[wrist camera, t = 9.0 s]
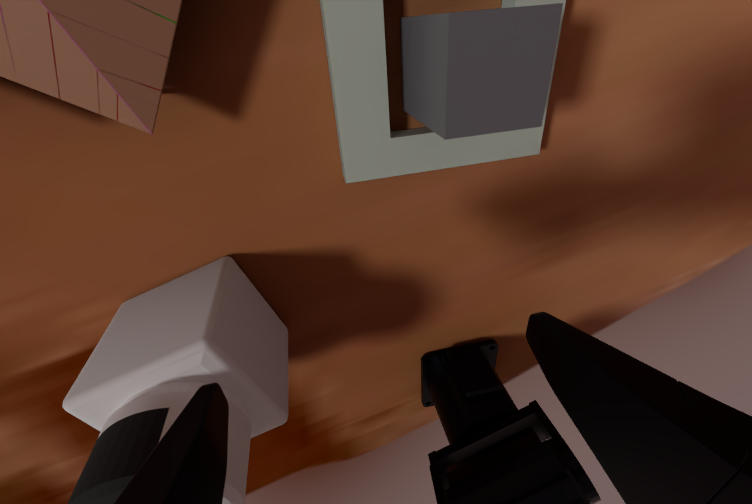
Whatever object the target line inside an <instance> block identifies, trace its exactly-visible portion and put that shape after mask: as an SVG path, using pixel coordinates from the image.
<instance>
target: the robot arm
mask: <svg viewBox="0 0 752 504" xmlns="http://www.w3.org/2000/svg"><path fill="white" fill-rule="evenodd" d="M526 339H527V341H528V344H529V346H530V348H531V349H532V351H533V353H534V355H535V357H536V359H537V361H538V363H539V365H540V367H541V369H542V371H543V373H544V375H545V377H546V379H547V381H548V383H549V384H550V386H551V388H552V390H553V391H554V393H555V394H556V396H557V398H558V399H559V401H560V402H561V404H562V405H563V407H564V408H565V410H566V412H567V413H568V415H569V416H570V418H571V419H572V421H573V422H574V424H575V426H576V427H577V428H578V430H579V432H580V433H581V435H582V436H583V438H584V439H585V441H586V443H587V444H588V446H589V447H590V449H591V450H592V452H593V453H594V455H595V456H596V458H597V460H598V461H599V463H600V464H601V466H602V467H603V469H604V471H605V472H606V474H607V475H608V477H609V478H610V480H611V481H612V483H613V485H614V486H615V488H616V489H617V491H618V492H619V494H620V495H621V497H622V498H623V500H624V502H625V503H626V504H752V416H750V415H748V414H745V413H743V412H741V411H739V410H737V409H735V408H732V407H730V406H728V405H726V404H724V403H722V402H720V401H718V400H716V399H714V398H711V397H709V396H708V395H706V394H704V393H701V392H699V391H698V390H695V389H694V388H692V387H689V386H688V385H686V384H684V383H682V382H680V381H678V382H677V380H676V379H674V378H672V377H670V376H668V375H666V374H664V373H662V372H660V371H659V370H657V369H654V368H653V367H651V366H649V365H647V364H645V363H643V362H641V361H639V360H637V359H635V358H633V357H631V356H629V355H627V354H625V353H623V352H622V351H619V350H618V349H616V348H614V347H612V346H610V345H608V344H606V343H604V342H602V341H600V340H598V339H597V338H595V337H593V336H591V335H589V334H587V333H585V332H583V331H581V330H579V329H577V328H575V327H573V326H571V325H569V324H567V323H566V322H564V321H562V320H560V319H558V318H556V317H554V316H552V315H550V314H548V313H546V312H539V313H534V314H531V315H530V317H529V321H528V326H527V330H526ZM497 351H498V344H497V343H496V341H495V340H488V341H484V342H479V343H475V344H470V345H466V346H461V347H457V348H452V349H448V350H443V351H439V352H434V353H430V354H426V355H424V356H423V357H422V358H421V399H422V404H423V406H424V407H430V406H434V405H435V408H436V410H437V413H438V415H439V418H440V421H441V423H442V426H443V428H444V431H445V434H446V436H447V439H448V441H449V444H450V445H448V446H446V447H444V448H442V449H440V450H438V451H433V452H431V453H429V454H428V456H429V460H430V472H431V476H432V481H433V486H434V490H435V495H436V500H437V504H594V503H596V502H598V501H600V500H601V499H600V496H599V494H598V493H597V491H596V489H595V487H594V486H593V484H592V482H591V481H590V479H589V477H588V476H587V474H586V473H585V471H584V469H583V468H582V466H581V465H580V463H579V461H578V460H577V458H576V457H575V456H574V454H573V452H572V451H571V450H570V448H569V447H568V445H567V444H566V442H565V441H564V439H563V438H562V437H561V435H560V434H559V432H558V431H557V430H556V428H555V427H554V425H553V424H552V423H551V421H550V420H549V418H548V417H547V416H546V414H545V413H544V411H543V410H542V408H541V407H540V406H539V404H538V403H537V401H536V400H534V401H533V402H531V403H529V405H528V406H526V407H524V408H522V409H520V410H518V409H517V407H516V406H515V404H514V402H513V400H512V399H511V397H510V396H509V394H508V392H507V390H506V389H505V387H504V385H503V384H502V382H501V380H500V379H499V377H498V375H497V374H496V372H495V370H494V369H495V363H496V357H497ZM228 419H229V405H228V401H227V399H226V397H225V395H224V393H223V391H222V389H221V387H220V385H219V384H218V383H210V384H205V385H202V386H201V387H200V388H199V389H198V390H197V391H196V393H195V394H194V396H193V397H192V398H191V400H190V401H189V402H188V404H187V405H186V406H185V408H184V409H183V410H182V412H181V413H180V415H179V416H178V417H177V419H176V420H175V421H174V423H173V424H172V425H171V427H170V428H169V429H168V431H167V432H166V434H165V435H164V436H163V438H162V439H161V440H160V442H159V443H158V444H157V446H156V447H155V448H154V450H153V451H152V453H151V454H150V455H149V457H148V458H147V459H146V461H145V462H144V463H143V465H142V466H141V467H140V469H139V470H138V472H137V473H136V474H135V476H134V477H133V478H132V480H131V481H130V482H129V484H128V485H127V487H126V488H125V489H124V491H123V492H122V493H121V495H120V496H119V497H118V499H117V500H116V501H115V503H114V504H222V501H223V494H224V487H225V479H226V471H227V455H228ZM546 439H548V440H546ZM544 440H545V441H544ZM542 441H543V442H542Z"/></svg>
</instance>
